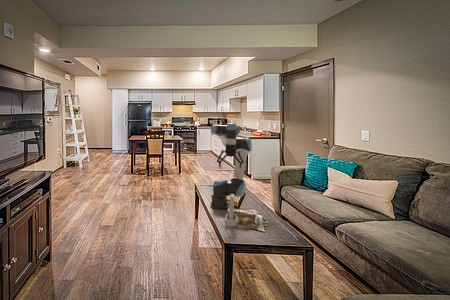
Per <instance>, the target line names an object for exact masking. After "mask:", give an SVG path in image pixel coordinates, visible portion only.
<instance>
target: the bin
mask: <svg viewBox="0 0 450 300" xmlns="http://www.w3.org/2000/svg"><path fill="white" fill-rule="evenodd" d="M224 227H225V228H227V227H229V228H237V213H233V220H232V219H229V213H225V218H224Z"/></svg>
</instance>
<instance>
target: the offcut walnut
mask: <svg viewBox="0 0 450 300" xmlns="http://www.w3.org/2000/svg"><path fill="white" fill-rule="evenodd" d="M239 223H240V224H241V225H248V224H253V220H251V221H249V222H242V221H240V222H239Z"/></svg>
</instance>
